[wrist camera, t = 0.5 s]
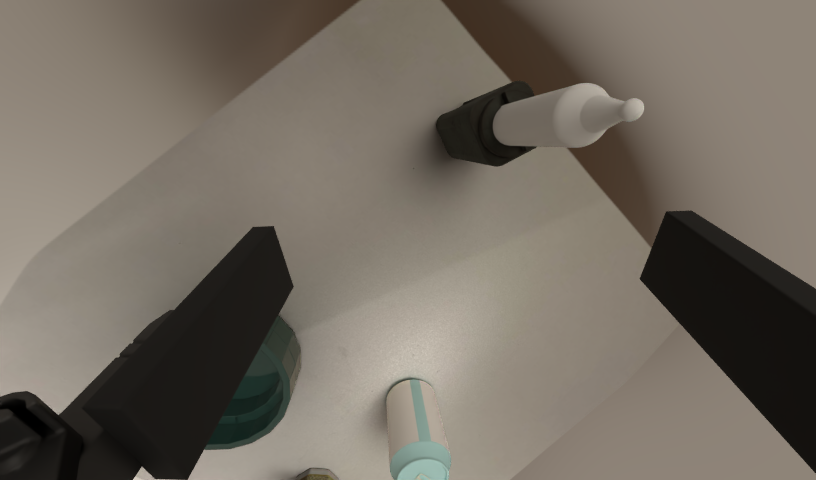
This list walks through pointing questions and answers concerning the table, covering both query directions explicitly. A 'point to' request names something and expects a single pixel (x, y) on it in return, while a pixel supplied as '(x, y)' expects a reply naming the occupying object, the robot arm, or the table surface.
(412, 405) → the can
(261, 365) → the bowl
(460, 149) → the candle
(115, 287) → the table surface
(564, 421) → the table surface
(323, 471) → the ceramic cup
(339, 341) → the table surface
